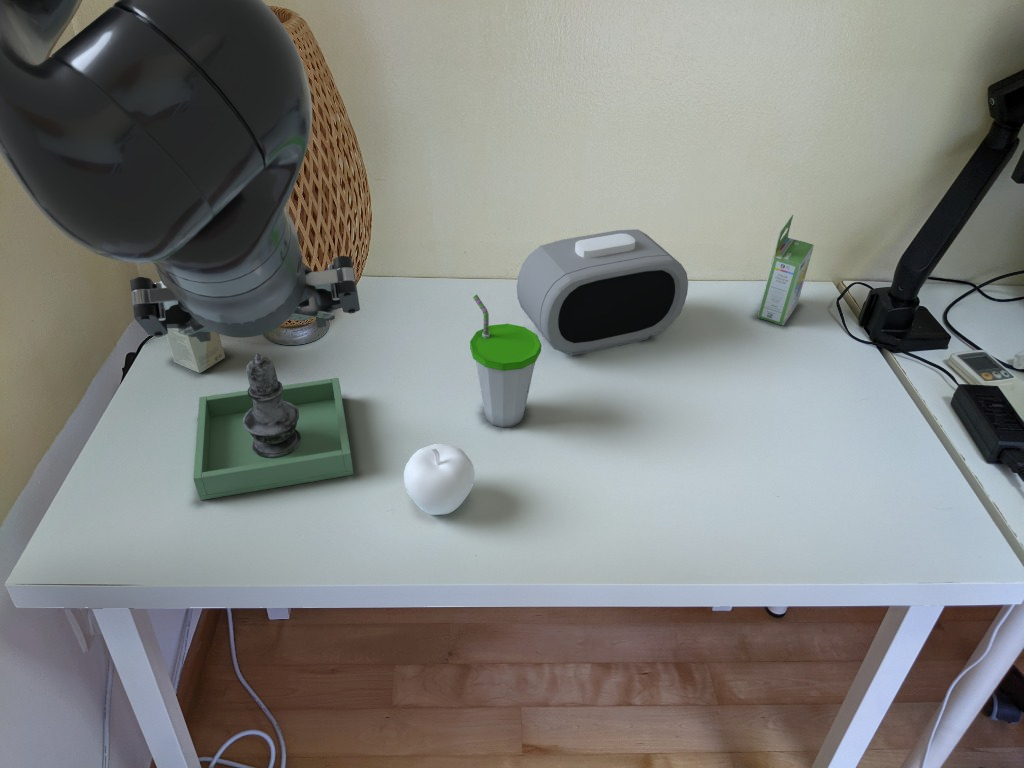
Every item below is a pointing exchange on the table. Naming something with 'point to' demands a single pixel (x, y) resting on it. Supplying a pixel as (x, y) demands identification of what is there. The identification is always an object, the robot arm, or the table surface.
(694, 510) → the table surface
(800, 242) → the ink box
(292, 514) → the table surface
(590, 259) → the alarm clock
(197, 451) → the tray
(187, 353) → the box
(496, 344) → the cup
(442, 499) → the plain white apple
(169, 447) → the table surface
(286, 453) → the chess piece
